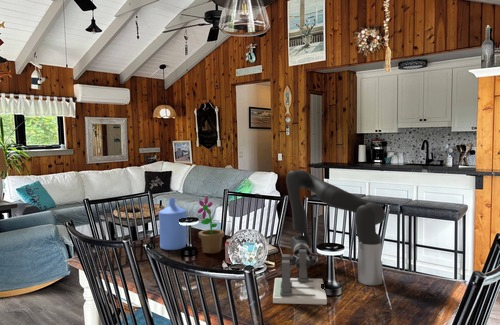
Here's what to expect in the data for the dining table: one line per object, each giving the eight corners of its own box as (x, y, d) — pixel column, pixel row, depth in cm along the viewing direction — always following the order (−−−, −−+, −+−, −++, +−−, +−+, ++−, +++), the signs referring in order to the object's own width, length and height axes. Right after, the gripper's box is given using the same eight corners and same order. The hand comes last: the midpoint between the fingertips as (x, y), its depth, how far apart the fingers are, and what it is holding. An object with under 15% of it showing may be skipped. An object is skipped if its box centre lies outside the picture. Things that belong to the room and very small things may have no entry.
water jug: (184, 250, 211) (182, 200, 209) (156, 250, 211) (154, 201, 209) (189, 242, 226) (187, 196, 224) (163, 242, 227) (161, 196, 225)
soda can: (237, 266, 182) (237, 242, 182) (223, 265, 184) (223, 241, 183) (241, 261, 189) (240, 238, 189) (227, 261, 191) (227, 237, 190)
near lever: (292, 291, 146) (291, 259, 145) (292, 295, 142) (291, 263, 141) (280, 291, 146) (280, 259, 145) (280, 295, 142) (279, 263, 141)
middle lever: (291, 284, 153) (291, 254, 152) (291, 288, 149) (291, 257, 148) (281, 284, 153) (280, 253, 152) (280, 287, 149) (280, 257, 148)
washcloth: (263, 257, 196) (263, 251, 196) (241, 250, 210) (241, 245, 209) (279, 252, 204) (279, 247, 204) (257, 246, 218) (256, 240, 217)
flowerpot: (210, 245, 219) (209, 194, 217) (229, 249, 211) (228, 196, 209) (193, 251, 208) (191, 198, 205) (213, 256, 199) (211, 200, 197)
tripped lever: (308, 278, 159) (307, 248, 158) (308, 281, 155) (308, 251, 154) (297, 277, 159) (297, 248, 158) (297, 281, 155) (297, 251, 154)
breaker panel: (322, 283, 159) (322, 278, 159) (326, 304, 139) (326, 298, 139) (275, 282, 161) (275, 277, 161) (272, 303, 142) (272, 297, 141)
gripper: (286, 244, 171) (285, 256, 154) (317, 244, 170) (320, 257, 153) (286, 260, 172) (285, 274, 155) (317, 261, 170) (320, 275, 153)
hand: (303, 265), depth 154 cm, fingers closed on tripped lever, 3 cm apart
